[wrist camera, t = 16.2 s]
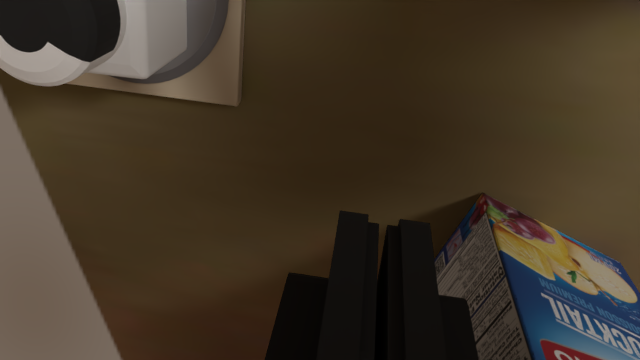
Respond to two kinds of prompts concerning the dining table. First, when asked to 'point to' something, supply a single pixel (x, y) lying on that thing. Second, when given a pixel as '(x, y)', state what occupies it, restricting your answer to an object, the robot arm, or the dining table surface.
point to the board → (195, 59)
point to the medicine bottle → (89, 38)
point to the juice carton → (537, 290)
